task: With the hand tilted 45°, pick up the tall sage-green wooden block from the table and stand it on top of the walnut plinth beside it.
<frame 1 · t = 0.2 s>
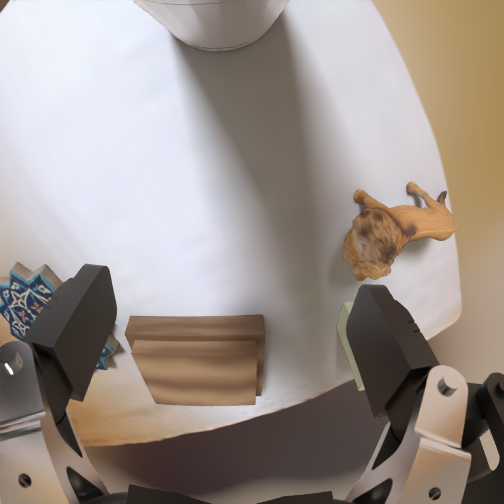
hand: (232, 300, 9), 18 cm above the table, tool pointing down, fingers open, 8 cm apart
lion figurine: (384, 206, 28), on the table
sage block: (356, 313, 35), on the table
decorative tile: (55, 319, 34), on the table
walnut plinth: (200, 353, 37), on the table
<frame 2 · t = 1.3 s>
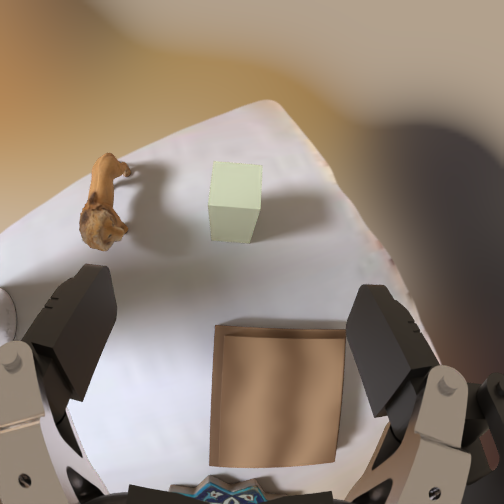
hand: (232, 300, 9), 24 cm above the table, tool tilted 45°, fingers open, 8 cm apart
lion figurine: (119, 212, 34), on the table
sage block: (231, 224, 35), on the table
walnut plinth: (274, 397, 30), on the table
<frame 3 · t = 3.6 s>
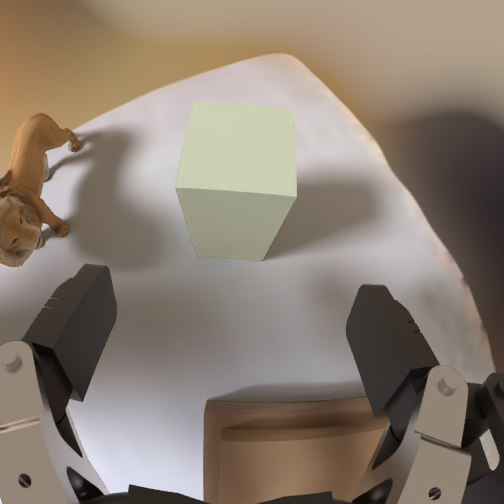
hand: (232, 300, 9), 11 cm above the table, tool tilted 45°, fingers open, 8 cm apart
lion figurine: (58, 204, 20), on the table
sage block: (231, 227, 21), on the table
walnut plinth: (300, 493, 16), on the table
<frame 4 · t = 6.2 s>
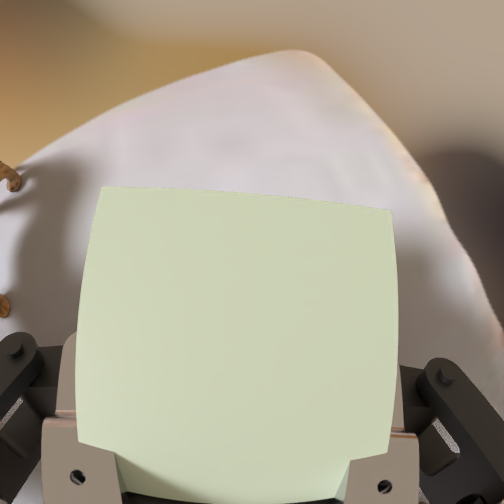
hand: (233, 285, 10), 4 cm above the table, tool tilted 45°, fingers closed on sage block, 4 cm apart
sage block: (229, 339, 13), on the table, touching gripper
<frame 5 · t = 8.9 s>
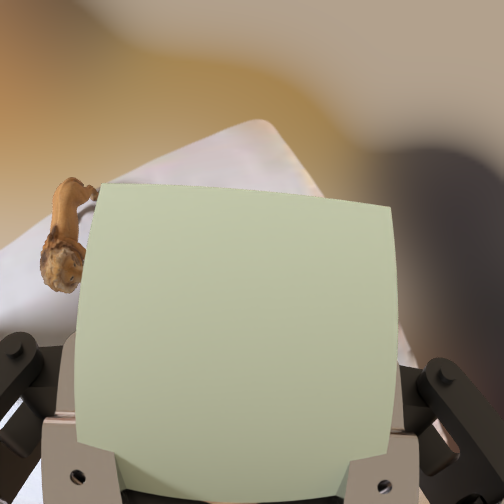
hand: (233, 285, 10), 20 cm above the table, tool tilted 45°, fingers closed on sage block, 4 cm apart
lion figurine: (88, 242, 30), on the table
sage block: (228, 338, 13), point 16 cm above the table, touching gripper
when the fingers open (10 cm above the table, at t = 12.0 s): sage block drops 1 cm, resting on walnut plinth.
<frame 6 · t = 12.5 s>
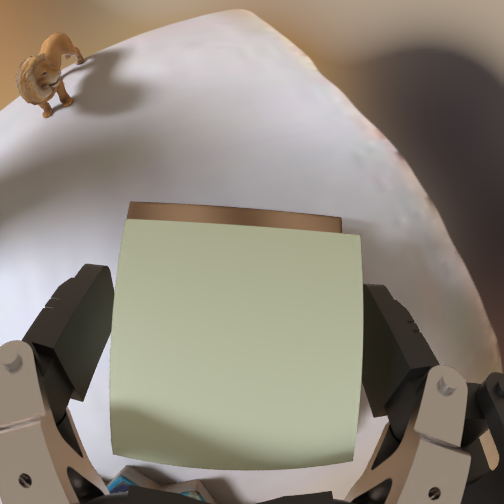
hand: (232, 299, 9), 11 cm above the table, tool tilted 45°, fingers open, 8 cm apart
lion figurine: (66, 92, 24), on the table
sage block: (229, 338, 14), point 5 cm above the table, touching walnut plinth
walnut plinth: (227, 337, 19), on the table
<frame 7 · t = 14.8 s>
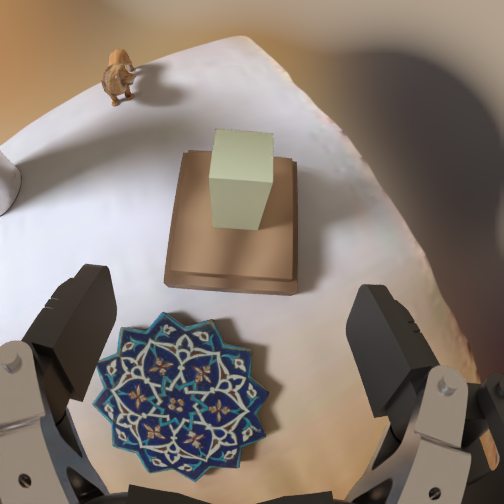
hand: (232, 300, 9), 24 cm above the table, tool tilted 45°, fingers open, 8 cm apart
lion figurine: (126, 90, 40), on the table
sage block: (236, 208, 30), point 5 cm above the table, touching walnut plinth
decorative tile: (180, 399, 30), on the table
walnut plinth: (234, 225, 35), on the table
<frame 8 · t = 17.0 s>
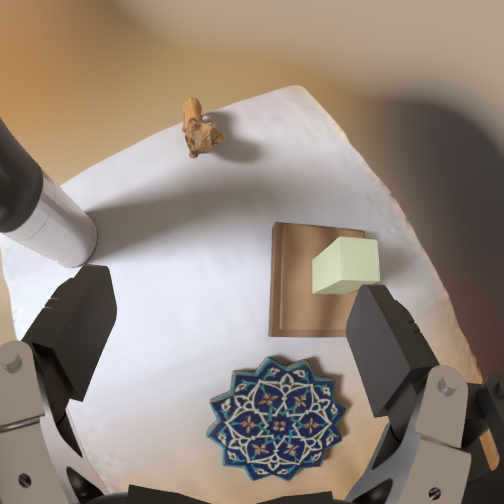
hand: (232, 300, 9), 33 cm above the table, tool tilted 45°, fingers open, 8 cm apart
lion figurine: (199, 140, 48), on the table
sage block: (328, 277, 38), point 5 cm above the table, touching walnut plinth
decorative tile: (276, 421, 38), on the table
walnut plinth: (316, 283, 43), on the table
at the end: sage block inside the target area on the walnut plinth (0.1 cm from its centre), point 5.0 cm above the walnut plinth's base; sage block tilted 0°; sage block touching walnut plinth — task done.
